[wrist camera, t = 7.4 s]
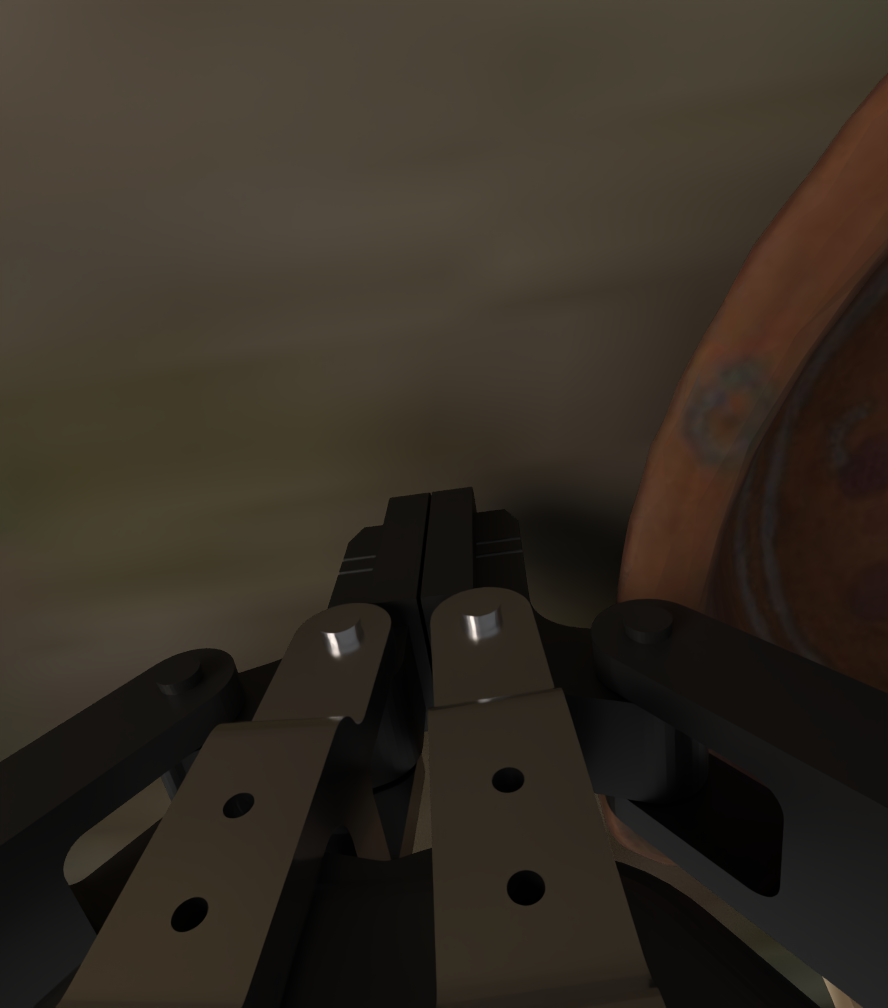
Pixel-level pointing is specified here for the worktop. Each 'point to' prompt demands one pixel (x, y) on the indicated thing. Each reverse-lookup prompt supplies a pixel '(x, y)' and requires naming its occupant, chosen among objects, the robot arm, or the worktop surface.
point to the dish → (785, 436)
